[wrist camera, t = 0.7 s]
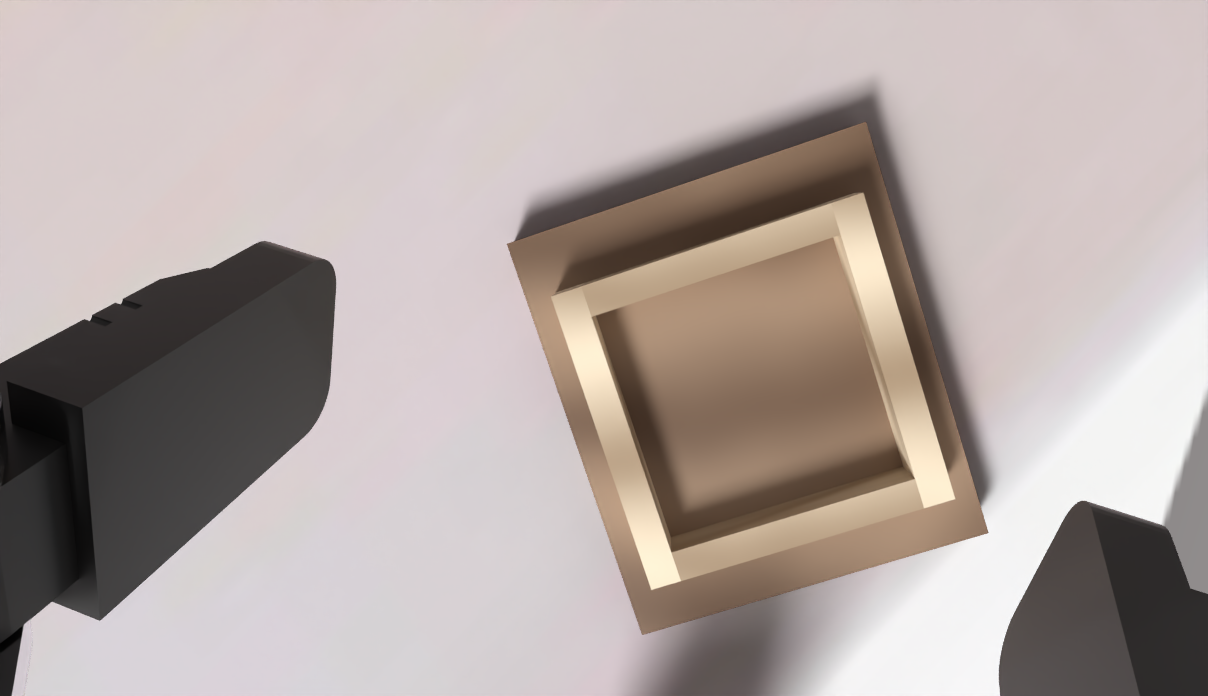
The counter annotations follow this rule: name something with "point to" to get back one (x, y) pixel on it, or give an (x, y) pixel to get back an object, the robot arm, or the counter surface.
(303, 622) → the counter surface
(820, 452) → the beige wooden tray
